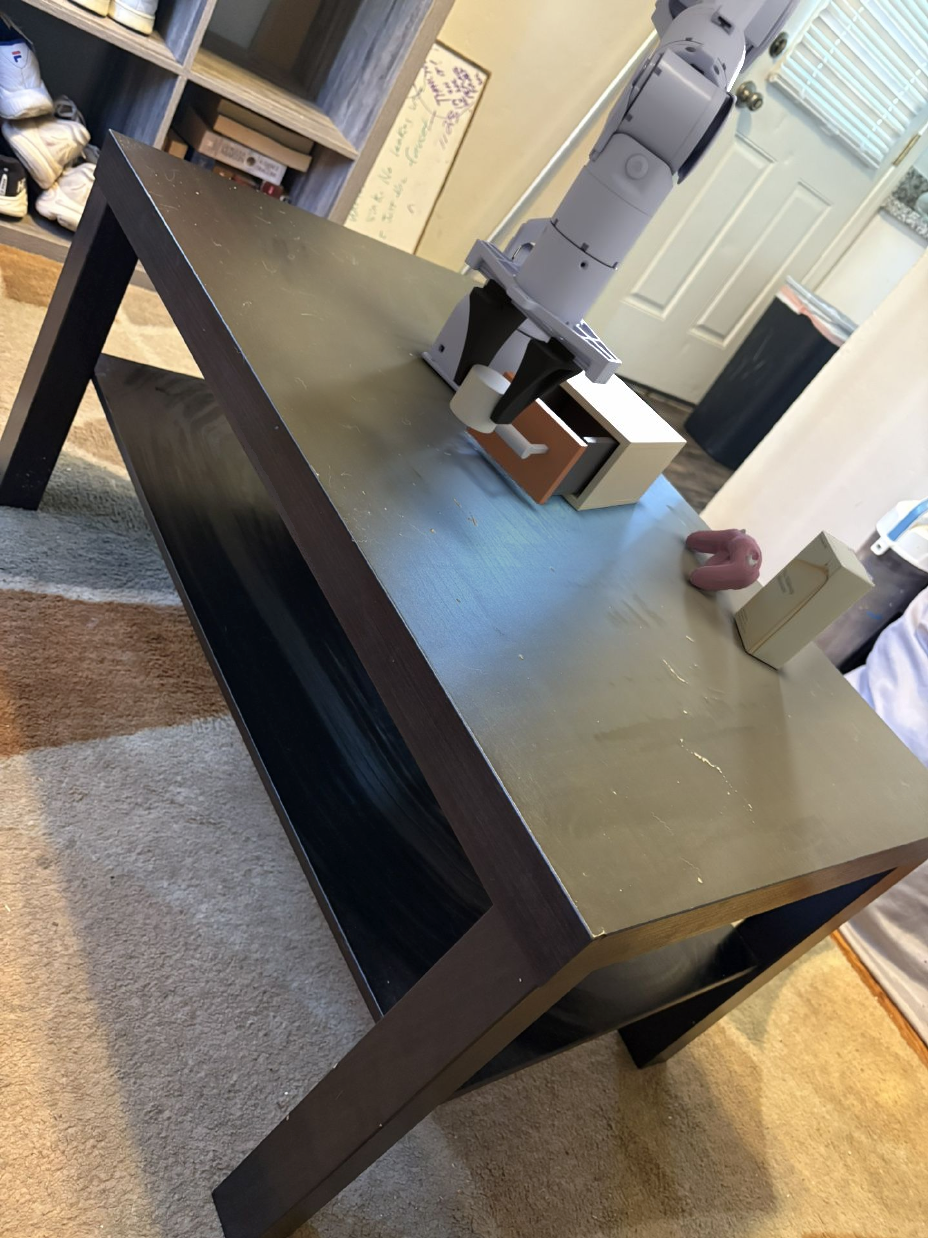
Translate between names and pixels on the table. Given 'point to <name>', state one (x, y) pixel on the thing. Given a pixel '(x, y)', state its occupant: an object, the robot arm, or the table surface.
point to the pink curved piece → (725, 559)
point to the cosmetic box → (802, 600)
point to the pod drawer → (550, 445)
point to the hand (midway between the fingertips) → (480, 402)
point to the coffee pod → (479, 398)
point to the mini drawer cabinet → (623, 443)
